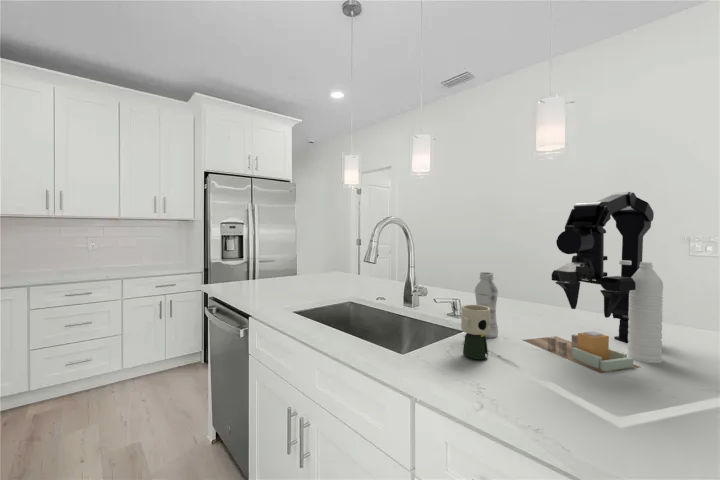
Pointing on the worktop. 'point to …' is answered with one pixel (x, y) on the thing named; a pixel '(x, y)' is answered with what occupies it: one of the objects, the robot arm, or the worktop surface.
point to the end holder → (615, 360)
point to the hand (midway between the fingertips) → (589, 312)
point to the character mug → (475, 330)
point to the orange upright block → (594, 343)
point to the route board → (565, 349)
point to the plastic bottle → (488, 300)
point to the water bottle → (645, 315)
